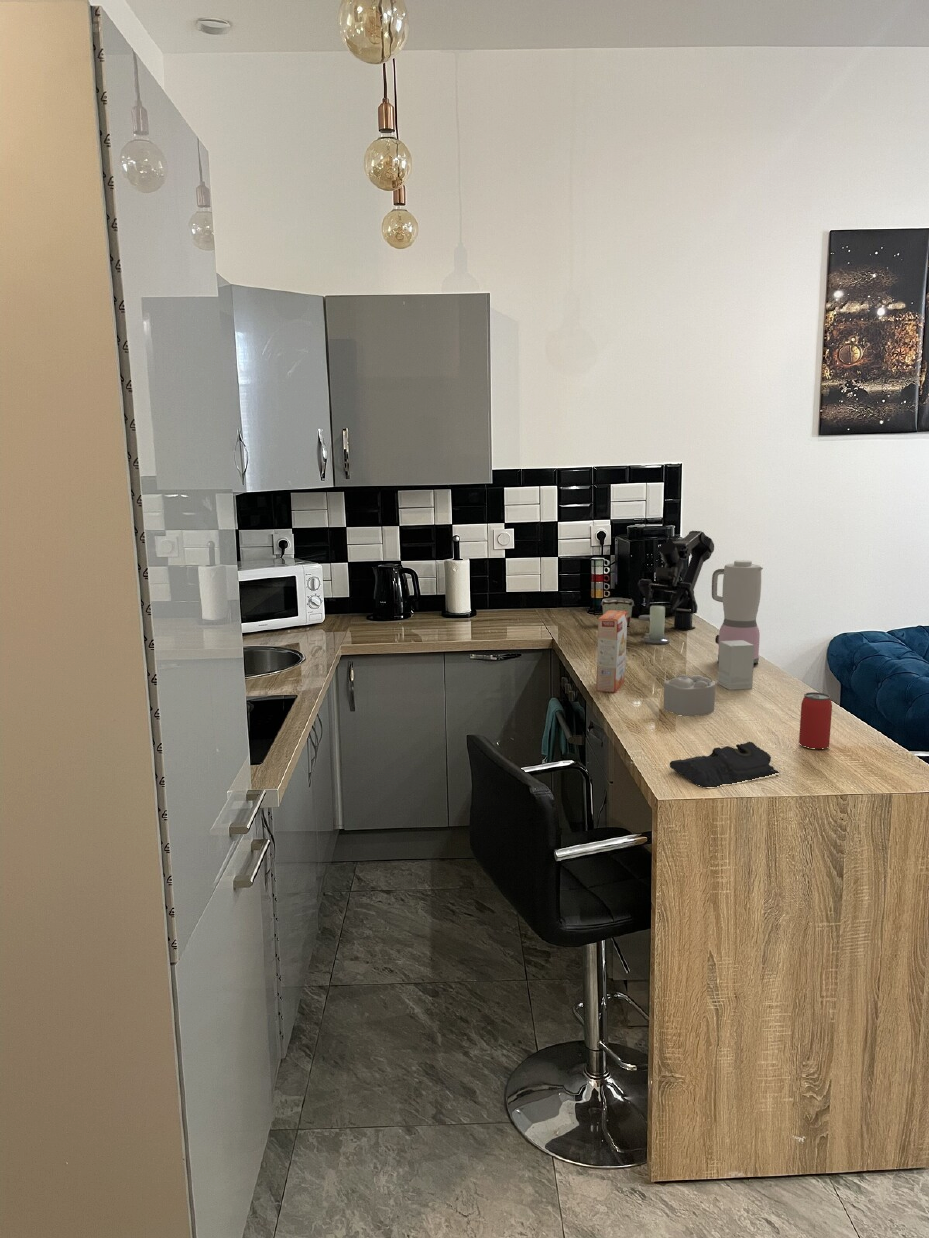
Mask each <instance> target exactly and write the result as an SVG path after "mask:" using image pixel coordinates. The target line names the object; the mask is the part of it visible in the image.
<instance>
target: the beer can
mask: <svg viewBox="0 0 929 1238" xmlns="http://www.w3.org/2000/svg"><path fill="white" fill-rule="evenodd" d="M800 706H801V707H800V717H799V719H800V720H799V734H798V738H799V739H798V744H799V743H800V744H801V745H802V746H806V747H809V748H815V749H822V748H826V749H828V748H829V747H830V740H831V728H832V727H831V725H832V715H833V713H832V712H833V703H832V700H831V695H829V694H828V693H825V692H818V691H817V692H816V691H813V692H810V691H809V692H805V693H804V697H803V699H802V701H801V705H800ZM800 744H799V745H800ZM801 745H800V746H801ZM802 746H801V747H802ZM827 747H828V748H827Z"/></svg>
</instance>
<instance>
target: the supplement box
mask: <svg viewBox="0 0 929 1238" xmlns="http://www.w3.org/2000/svg"><path fill="white" fill-rule="evenodd" d="M718 649H719V663H718V673H717V684H718V685H720V686H721V687H723V688H725V689H727V690H728V691H729V690H730V691H735V690H752V689H753V681H754V664H755V663H754V645H753V644H750V643H748V642H746V641H744V640H734V641H720V647H719V646H718Z"/></svg>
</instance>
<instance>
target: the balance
mask: <svg viewBox="0 0 929 1238" xmlns="http://www.w3.org/2000/svg"><path fill="white" fill-rule="evenodd" d="M638 620H640V621H645V622H646V621H647V622H650V614H642V615H639V616H638ZM642 641H643V643H644V644H647V643H649V644H648V645H656V646H657V645H661V646H662V645H668V644H670V643H671V638H670V637H668V636H664V639H662V640H653V639H649V632H645V633H644V636H643V638H642Z"/></svg>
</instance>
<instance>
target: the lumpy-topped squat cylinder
mask: <svg viewBox="0 0 929 1238" xmlns="http://www.w3.org/2000/svg"><path fill="white" fill-rule="evenodd" d="M663 687H664V688H663V689H664V690H663V708H664V709H665V710H664V709H663V710H664V711H666V710H667V711H666V712H668V713H671V712H673V713H674V714H673V713H672V714H673V715H675V714H676V716H678V715H682V716H681V717H685V716H689V717H696V716H695V715H699V716H704V715H705V716H706V715H709V714H712V713H713V712H714V711H715V704H716V703H715V702H716V682H715V681H714V680H713V679H710V678H709V677H704V676H702V675H699V674H695V675H692V676H688V675H687V674H684V673H683V674H682V673H681V674H679V675H677V676H676V677H674V678H673V677H672V678H671V679H667V680H666V681H664V686H663ZM711 712H712V713H711Z"/></svg>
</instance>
